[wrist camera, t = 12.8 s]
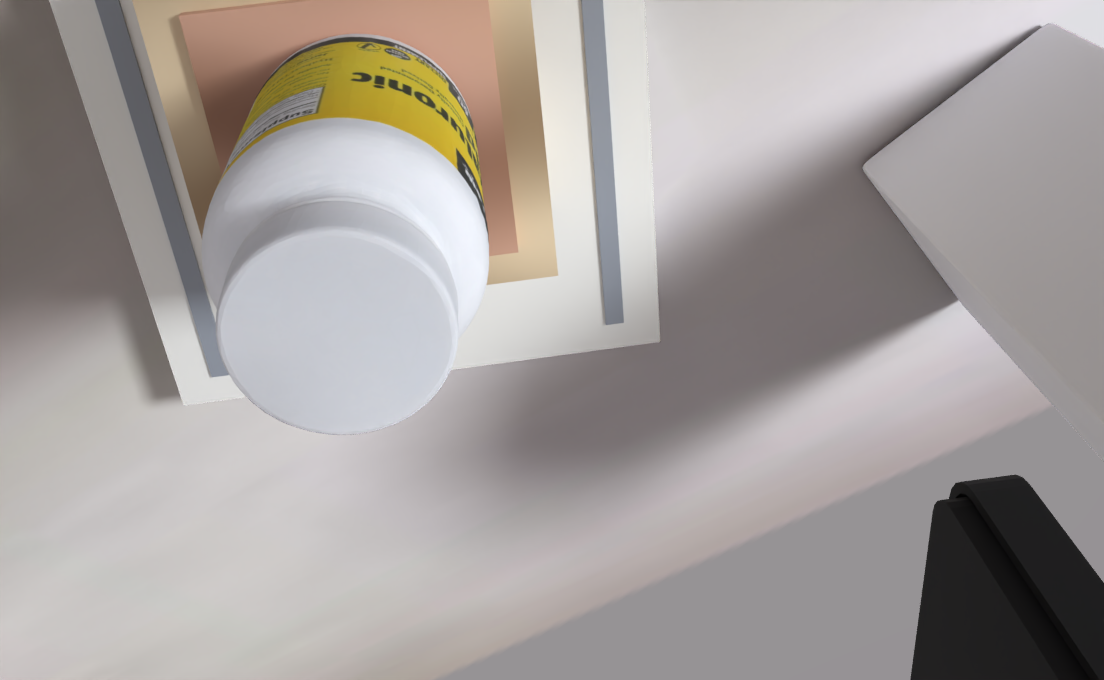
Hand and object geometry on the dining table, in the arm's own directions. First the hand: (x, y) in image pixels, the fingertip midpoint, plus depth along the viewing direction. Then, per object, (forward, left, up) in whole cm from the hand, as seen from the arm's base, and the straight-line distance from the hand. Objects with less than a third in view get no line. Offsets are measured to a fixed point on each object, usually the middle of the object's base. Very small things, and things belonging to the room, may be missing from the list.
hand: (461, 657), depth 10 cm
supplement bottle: (+1, -2, -18) cm, 18 cm away
